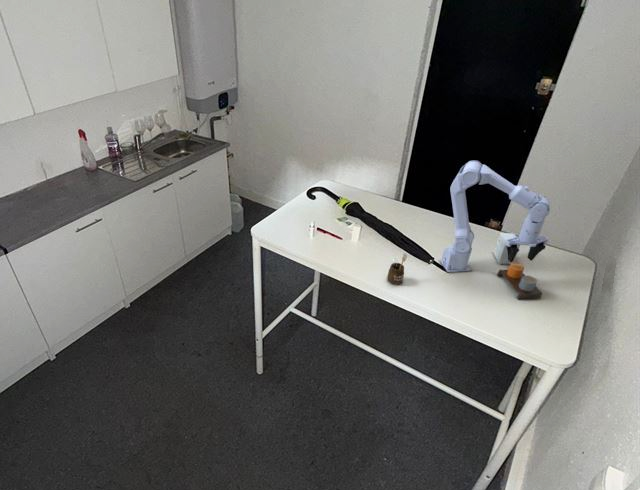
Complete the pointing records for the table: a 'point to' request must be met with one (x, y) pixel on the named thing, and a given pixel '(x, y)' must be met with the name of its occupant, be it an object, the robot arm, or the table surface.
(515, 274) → the orange tape
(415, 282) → the table surface
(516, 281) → the brown rectangular block
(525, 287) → the grey tape
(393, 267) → the utensil holder
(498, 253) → the small box
